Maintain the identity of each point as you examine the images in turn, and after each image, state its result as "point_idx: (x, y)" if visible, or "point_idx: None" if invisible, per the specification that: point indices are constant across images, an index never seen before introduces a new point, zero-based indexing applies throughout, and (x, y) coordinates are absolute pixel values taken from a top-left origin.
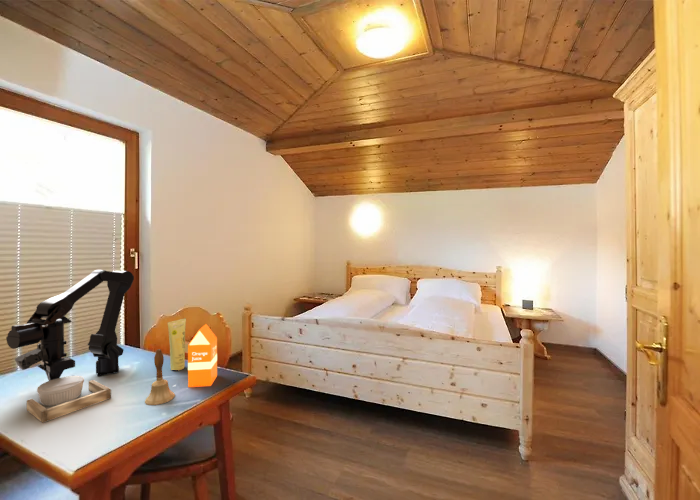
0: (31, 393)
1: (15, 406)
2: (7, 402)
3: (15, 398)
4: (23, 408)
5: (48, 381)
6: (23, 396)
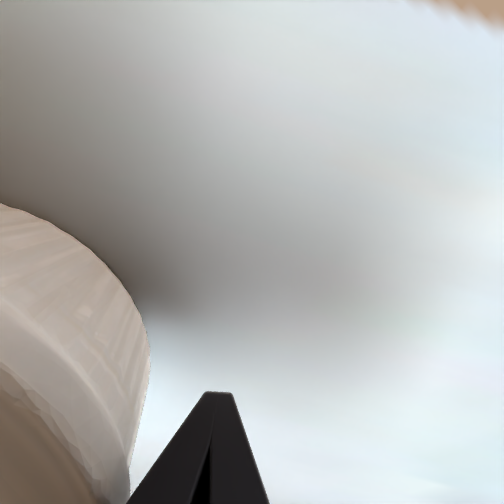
0: (427, 255)
1: (196, 33)
2: (424, 25)
3: (457, 123)
4: (51, 64)
5: (50, 452)
6: (426, 188)
